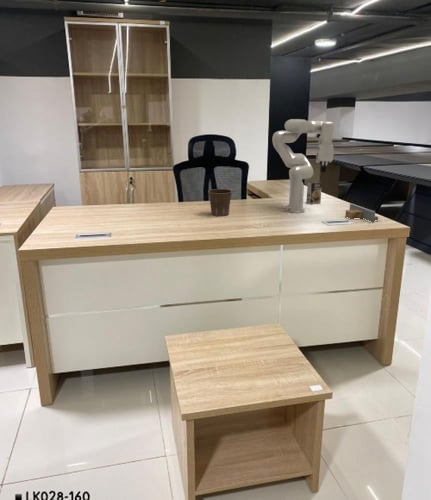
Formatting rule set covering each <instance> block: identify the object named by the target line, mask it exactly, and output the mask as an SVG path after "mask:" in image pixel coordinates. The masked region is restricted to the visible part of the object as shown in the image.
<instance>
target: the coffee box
mask: <svg viewBox="0 0 431 500" xmlns="http://www.w3.org/2000/svg"><path fill="white" fill-rule="evenodd" d="M322 185H323V182H320V181H309V182H307V187H306V201H305V203H306V204H308V205H318V204H319V205H320V204H321V199H322V190H323V188H322V187H323V186H322Z"/></svg>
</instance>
